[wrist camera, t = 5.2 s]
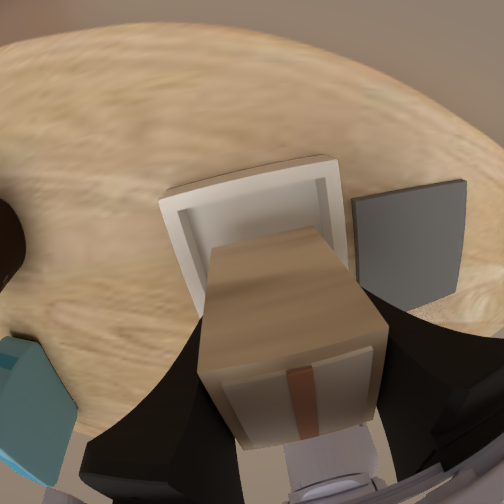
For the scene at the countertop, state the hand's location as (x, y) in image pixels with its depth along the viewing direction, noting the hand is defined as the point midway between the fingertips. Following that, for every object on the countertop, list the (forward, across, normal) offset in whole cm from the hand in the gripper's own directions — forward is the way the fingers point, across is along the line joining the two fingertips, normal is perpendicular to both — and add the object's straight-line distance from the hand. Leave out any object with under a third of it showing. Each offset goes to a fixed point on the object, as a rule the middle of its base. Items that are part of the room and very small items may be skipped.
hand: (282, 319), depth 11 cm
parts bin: (+8, 0, +3) cm, 8 cm away
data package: (+8, +26, +9) cm, 28 cm away
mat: (+8, -11, +3) cm, 14 cm away
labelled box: (+3, 0, 0) cm, 3 cm away
